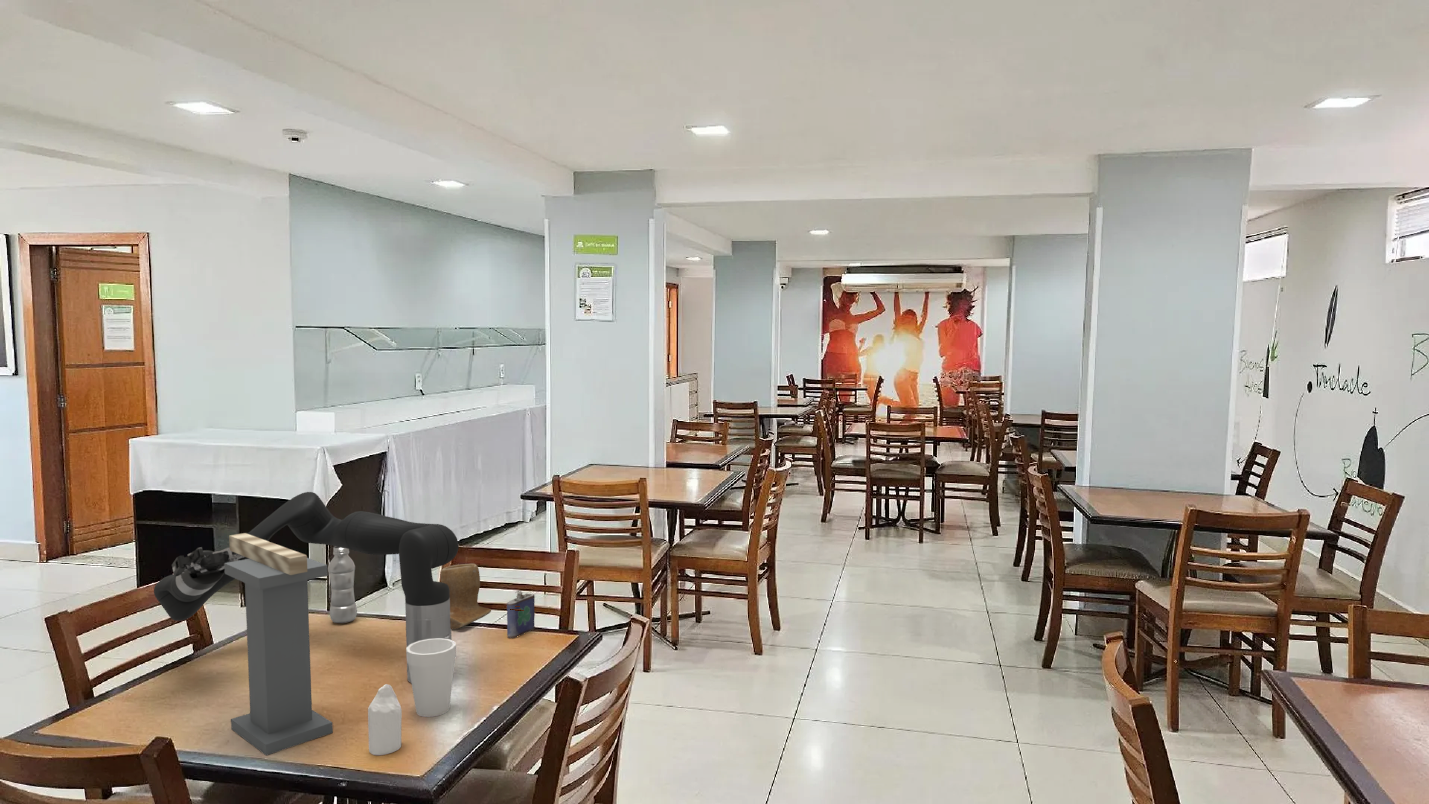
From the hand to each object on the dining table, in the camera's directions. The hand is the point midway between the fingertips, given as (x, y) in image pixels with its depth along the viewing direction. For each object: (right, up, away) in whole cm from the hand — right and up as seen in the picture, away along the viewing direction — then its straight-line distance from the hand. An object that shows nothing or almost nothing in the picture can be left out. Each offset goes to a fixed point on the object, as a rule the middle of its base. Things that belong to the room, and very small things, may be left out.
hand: (224, 548), depth 178 cm
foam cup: (+44, -32, -4) cm, 55 cm away
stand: (+19, -32, -14) cm, 40 cm away
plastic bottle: (+3, -28, +50) cm, 58 cm away
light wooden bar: (+15, 0, -13) cm, 20 cm away
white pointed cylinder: (+41, -33, -21) cm, 56 cm away
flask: (+51, -29, +42) cm, 72 cm away
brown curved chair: (+34, -28, +51) cm, 67 cm away
